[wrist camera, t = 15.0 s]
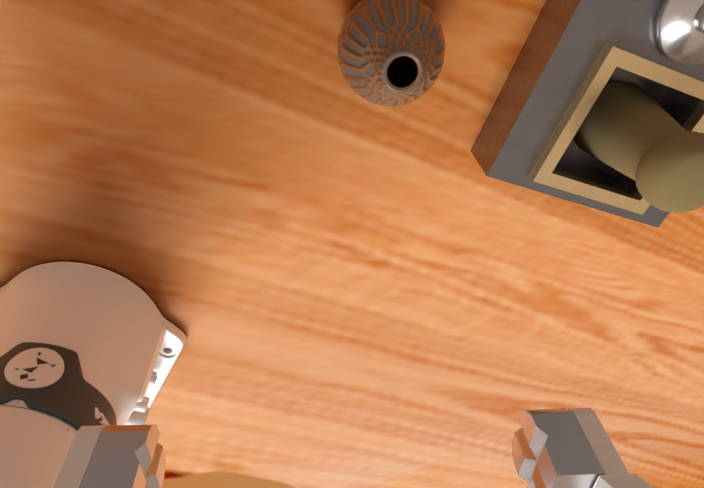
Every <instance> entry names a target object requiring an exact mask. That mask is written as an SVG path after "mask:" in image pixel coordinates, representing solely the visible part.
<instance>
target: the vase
mask: <svg viewBox="0 0 704 488" xmlns="http://www.w3.org/2000/svg"><path fill="white" fill-rule="evenodd" d="M444 55H445V40H444V34H443V30H442V27H441V25H440V22H439V20H438V18H437V17H436V15H435V14H434V12H433V11H432V10H431V9H430V7H429V6H428V5H426V4H425V3H424V2H423V1H422V0H361V1H360V2H359V3H358V4H357V5H356V6H355V7H354V8H353V9H352V10H351V11H350V12H349V14H348V15H347V17H346V19H345V21H344V23H343V25H342V28H341V31H340V35H339V40H338V57H339V63H340V66H341V69H342V72H343V75H344V77H345V79H346V80H347V82H348V83H349V85H350V86H351V87H352V88H353V89H354V90H355V92H357V93H358V94H359V95H360V96H362V97H363V98H365V99H366V100H368V101H370V102H373V103H376V104H379V105H384V106H399V105H404V104H407V103H410V102H412V101H414V100H416V99H418V98H419V97H421V96H422V95H423V94H425V93H426V92H427V91H428V90H429V89H430V88H431V86H432V85H433V84H434V82H435V81H436V79H437V77H438V76H439V73H440V71H441V68H442V65H443V61H444Z"/></svg>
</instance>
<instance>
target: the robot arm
mask: <svg viewBox="0 0 704 488" xmlns="http://www.w3.org/2000/svg"><path fill="white" fill-rule="evenodd" d="M185 342H186V336H185V334H184V333H183V332H182V331H181V330H180V329H179V328H177V327H176V326H175V325H173V324H172V323H170V322H169V321H167V320H166V319H165V318H164V317H163V316H162V314H161V313H160V311H159V310H158V308H157V307H156V305H155V304H154V302H153V301H152V300H151V298H150V297H149V296H148V295H147V294H146V293H145V292H144V291H143V290H142V289H141V288H139V287H138V286H137V285H135V284H134V283H133V282H131V281H130V280H128V279H126V278H125V277H123V276H121V275H119V274H117V273H114V272H112V271H110V270H107V269H104V268H101V267H98V266H94V265H90V264H84V263H77V262H51V263H45V264H41V265H37V266H34V267H31V268H29V269H27V270H24V271H23V272H21V273H19V274H18V275H17V276H15V277H14V278H13V279H12V280H11V281H9V282H8V283H7V284H6V285H4V286H3V287H1V288H0V488H162V485H163V480H164V473H165V453H164V449H163V446H161V445H160V444H158V443H157V441H158V437H159V431H158V428H157V425H144V424H145V422H146V419H147V416H148V413H149V410H150V407H151V405H152V403H153V401H154V399H155V398H156V396H157V394H158V392H159V390H160V388H161V387H162V385H163V383H164V381H165V379H166V378H167V376H168V374H169V372H170V370H171V369H172V367H173V365H174V363H175V361H176V359H177V358H178V356H179V354H180V352H181V350H182V348H183V346H184V344H185ZM519 421H520V424H521V426H522V428H521V429H519V430H518V431H517V432H515V434H514V438H513V441H512V454H513V459H514V464H515V467H516V470H517V472H518V475H519V476H520V477H521V478H523V479H524V480H525V481H526V482H527V483H528V487H527V488H654V487H653V486H652V485H650V484H649V483H648V482H646V481H645V480H644V479H642V478H641V477H640V476H639V475H637V474H636V473H629V472H628V470H627V468H626V466H625V465H624V463H623V461H622V459H621V458H620V456H619V454H618V452H617V451H616V449H615V447H614V445H613V443H612V442H611V440H610V438H609V436H608V435H607V433H606V431H605V429H604V428H603V426H602V424H601V422H600V420H599V419H598V417H597V415H596V413H595V412H594V411H593V410H592V409H591V408H574V409H566V408H560V409H541V410H525V411H524V412H523V413H522V414H521V417H520V420H519Z"/></svg>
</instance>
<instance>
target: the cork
mask: <svg viewBox="0 0 704 488" xmlns="http://www.w3.org/2000/svg"><path fill="white" fill-rule="evenodd" d="M573 139H574V142H575V143H576V145H577V146H578V147H579V148H580V149H581V150H583V151H584V152H586V153H588V154H589V155H591V156H593V157H595V158H596V159H598V160H600V161H602V162H603V163H605V164H607V165H609V166H610V167H612V168H614V169H615V170H617V171H619V172H621V173H622V174H624V175H626V176H628V177H629V178H631V179H633V180H635V181H636V187H637V189H638V191H639V193H640V194H641V195H642V197H643V198H644V199H645V200H646V201H647V202H648V203H649V204H650V205H652V206H654V207H656V208H658V209H660V210H662V211H666V212H674V213H681V212H687V211H692V210H695V209H697V208H700V207H702V206H704V133H700V132H694V131H686V130H685V129H684V128H683V127H682V126H681V125H680V124H679V123H678V122H677V121H676V120H675V119H673V118H672V117H671V116H670V115H669V114H668V113H667V112H666V111H665V110H664V109H663V108H662V107H661V106H660V105H659V104H658V103H657V102H656V101H655V100H654V99H653V98H652V97H651V96H650V95H649V94H648V93H647V92H645V91H644V90H643V89H642V88H641V87H639V86H638V85H636V84H635V83H632V82H626V81H619V82H612V83H609V84H606V85H605V86H604V88H603V90H602V91H601V93H600V95H599V96H598V98H597V100H596V101H595V103H594V105H593V106H592V108H591V109H590V111H589V113H588V114H587V116H586V118H585V119H584V121H583V123H582V124H581V126H580V127H579V129H578V131H577V132H576V134H575V136H574V137H573Z"/></svg>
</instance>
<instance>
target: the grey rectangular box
mask: <svg viewBox="0 0 704 488" xmlns="http://www.w3.org/2000/svg"><path fill="white" fill-rule="evenodd" d="M619 81H626V82H632V83H635V84H636V85H638V86H639V87H641V88H642V89H643V90H644V91H645V92H647V93H648V94H649V95H650V96H651V97H652V98H653V99H654V100H655V101H656V102H657V103H658V104H659V105H660V106H661V107H662V108H663V109H664V110H665V111H666V112H667V113H668V114H669V115H670V116H671V117H672V118H673V119H675V120H676V121H677V122H678V123H679V124H680V125H681V126H682V127H683V128H684V129H685V130H686V131H694V132H700V133H704V0H547V1H546V3H545V5H544V7H543V9H542V11H541V13H540V15H539V17H538V19H537V21H536V23H535V25H534V27H533V29H532V31H531V33H530V35H529V37H528V39H527V41H526V43H525V45H524V47H523V49H522V51H521V53H520V55H519V57H518V59H517V61H516V63H515V65H514V67H513V69H512V71H511V73H510V75H509V77H508V79H507V81H506V83H505V84H504V86H503V88H502V90H501V92H500V94H499V96H498V98H497V100H496V102H495V104H494V106H493V108H492V110H491V112H490V114H489V116H488V118H487V120H486V122H485V124H484V126H483V128H482V130H481V132H480V134H479V136H478V138H477V140H476V142H475V144H474V146H473V148H472V150H471V152H472V153H473V155H474V157H475V158H476V160H477V161H478V163H479V164H480V166H481V168H482V169H483V171H484V172H485V174H486V175H487V176H489V177H492V178H495V179H499V180H502V181H505V182H509V183H512V184H515V185H519V186H522V187H525V188H528V189H532V190H535V191H538V192H542V193H545V194H548V195H552V196H555V197H558V198H562V199H565V200H568V201H572V202H575V203H578V204H582V205H585V206H588V207H591V208H595V209H598V210H601V211H605V212H608V213H611V214H615V215H618V216H621V217H625V218H628V219H631V220H635V221H638V222H641V223H645V224H648V225H651V226H654V227H659V226H660V224H661V223H662V222H663V221H664V219H665V218H666V217H667V215H668V214H669V213H670V212H666V211H662V210H660V209H658V208H656V207H654V206H652V205H650V204H649V203H648V202H647V201H646V200H645V199H644V198H643V197H642V195H641V194H640V193H639V191H638V189H637V187H636V181H635V180H633V179H631V178H629V177H628V176H626V175H624V174H622V173H621V172H619V171H617V170H615V169H614V168H612V167H610V166H609V165H607V164H605V163H603V162H602V161H600V160H598V159H596V158H595V157H593V156H591V155H589V154H588V153H586V152H584V151H583V150H581V149H580V148H579V147H578V146H577V145H576V143H575V142H574V139H573V137H574V136H575V134H576V132H577V131H578V129H579V127H580V126H581V124H582V123H583V121H584V119H585V118H586V116H587V114H588V113H589V111H590V109H591V108H592V106H593V105H594V103H595V101H596V100H597V98H598V96H599V95H600V93H601V91H602V90H603V88H604V86H605V85H606V84H609V83H612V82H619Z"/></svg>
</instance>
